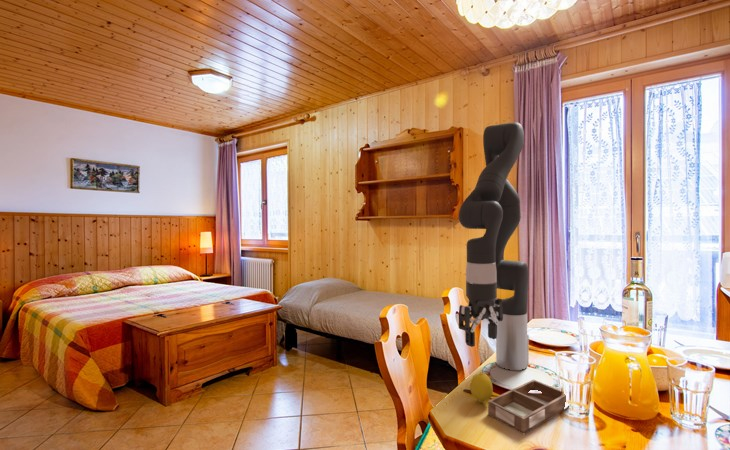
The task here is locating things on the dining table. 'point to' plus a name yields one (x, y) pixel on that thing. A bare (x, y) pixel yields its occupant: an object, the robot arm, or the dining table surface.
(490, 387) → the lemon
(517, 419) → the tray
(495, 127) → the robot arm
